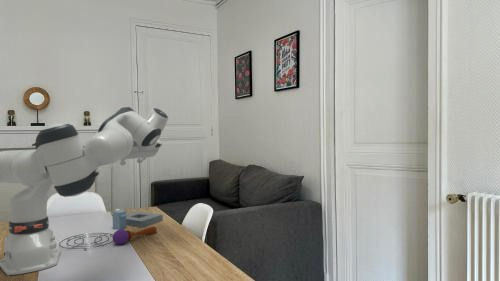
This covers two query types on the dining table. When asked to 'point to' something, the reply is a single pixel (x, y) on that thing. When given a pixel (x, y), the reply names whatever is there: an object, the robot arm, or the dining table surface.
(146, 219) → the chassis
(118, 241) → the purple maraca
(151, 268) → the dining table surface
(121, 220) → the servo
